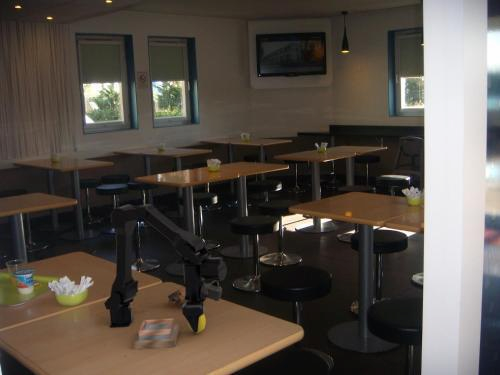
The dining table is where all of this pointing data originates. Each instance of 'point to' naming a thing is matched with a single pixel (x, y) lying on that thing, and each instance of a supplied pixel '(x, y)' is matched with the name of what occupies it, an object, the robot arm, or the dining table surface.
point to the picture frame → (157, 334)
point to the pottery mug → (177, 295)
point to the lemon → (200, 324)
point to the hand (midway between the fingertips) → (196, 326)
